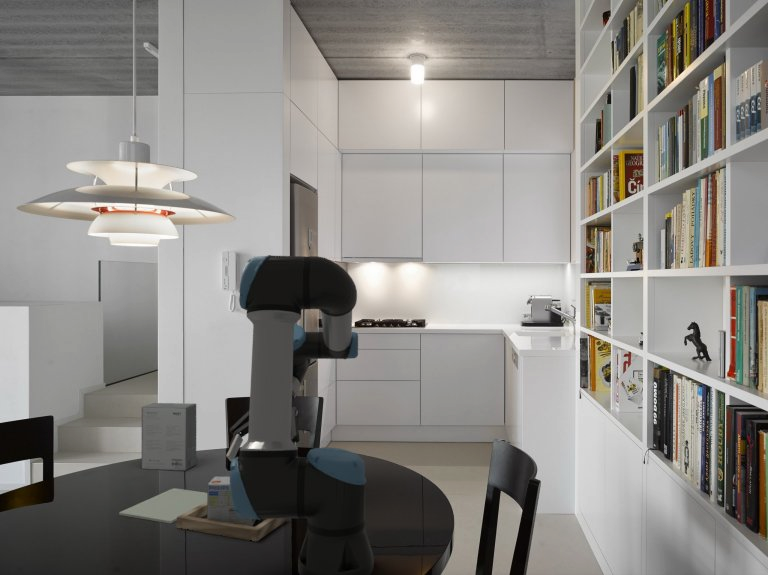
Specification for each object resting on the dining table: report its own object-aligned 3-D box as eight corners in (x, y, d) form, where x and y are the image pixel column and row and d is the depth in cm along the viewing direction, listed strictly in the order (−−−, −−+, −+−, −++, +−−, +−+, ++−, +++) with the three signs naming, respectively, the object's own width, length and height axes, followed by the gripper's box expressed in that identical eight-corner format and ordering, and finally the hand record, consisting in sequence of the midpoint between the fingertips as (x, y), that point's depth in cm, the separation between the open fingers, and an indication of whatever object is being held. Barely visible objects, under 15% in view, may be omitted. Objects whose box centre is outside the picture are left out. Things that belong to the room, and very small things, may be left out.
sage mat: (170, 523, 139) (170, 521, 139) (118, 514, 145) (118, 512, 145) (221, 497, 158) (221, 494, 158) (173, 490, 164) (173, 488, 164)
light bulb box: (257, 519, 143) (257, 475, 143) (251, 529, 136) (252, 483, 136) (213, 519, 142) (214, 475, 143) (206, 530, 136) (206, 484, 136)
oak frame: (256, 541, 129) (257, 530, 129) (176, 527, 137) (176, 517, 137) (286, 520, 142) (286, 510, 142) (211, 509, 149) (211, 499, 149)
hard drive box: (197, 464, 189) (197, 403, 189) (185, 471, 181) (186, 407, 182) (153, 462, 191) (153, 402, 192) (140, 469, 184) (140, 406, 184)
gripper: (326, 404, 160) (300, 474, 146) (249, 398, 169) (217, 463, 155) (318, 387, 155) (289, 458, 141) (239, 382, 164) (204, 448, 150)
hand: (251, 461), depth 148 cm, fingers open, 13 cm apart
